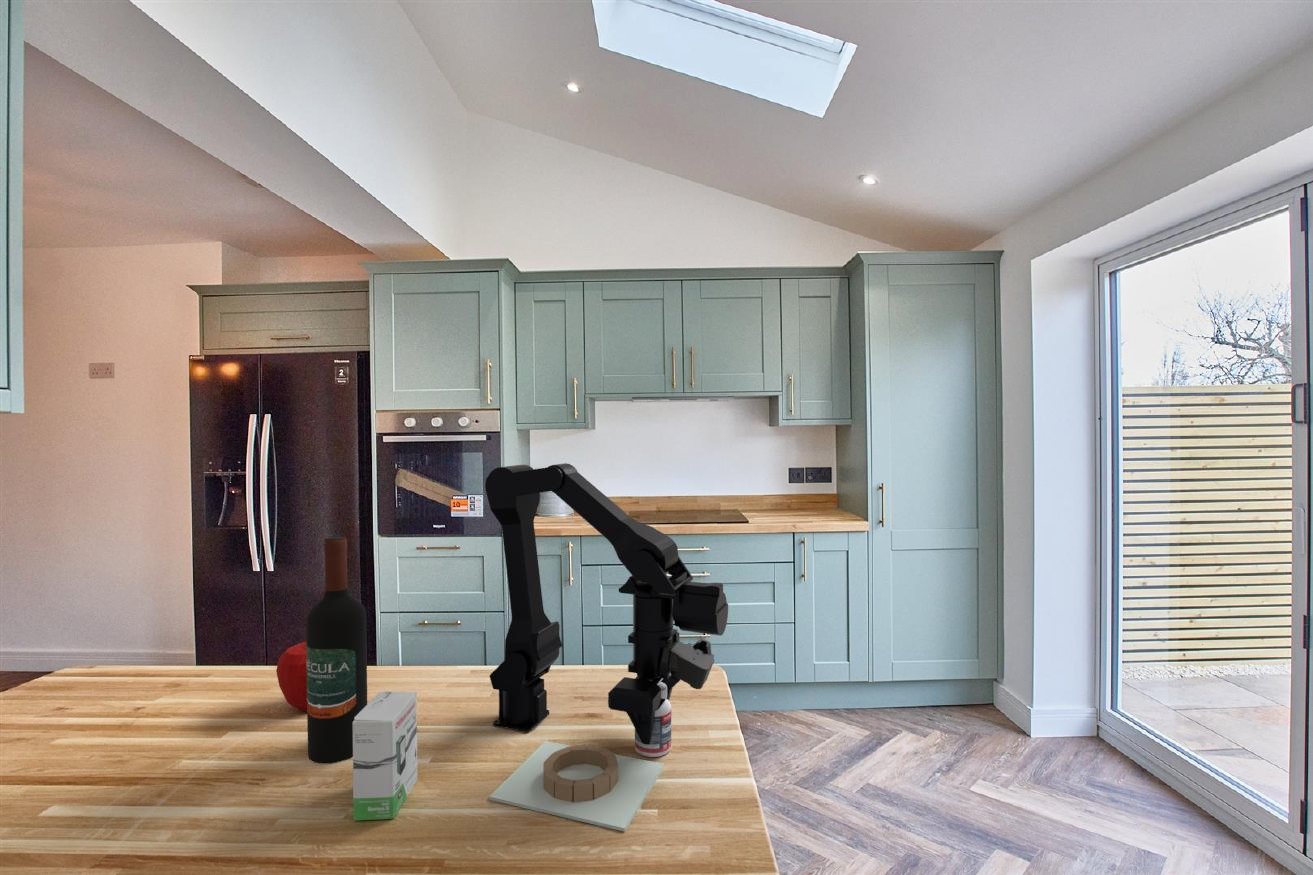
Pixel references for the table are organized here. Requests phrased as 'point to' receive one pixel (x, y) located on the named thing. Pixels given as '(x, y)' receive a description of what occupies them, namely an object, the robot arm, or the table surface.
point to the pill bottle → (658, 730)
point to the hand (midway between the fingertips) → (652, 734)
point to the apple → (294, 676)
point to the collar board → (581, 811)
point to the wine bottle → (335, 662)
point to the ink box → (384, 755)
